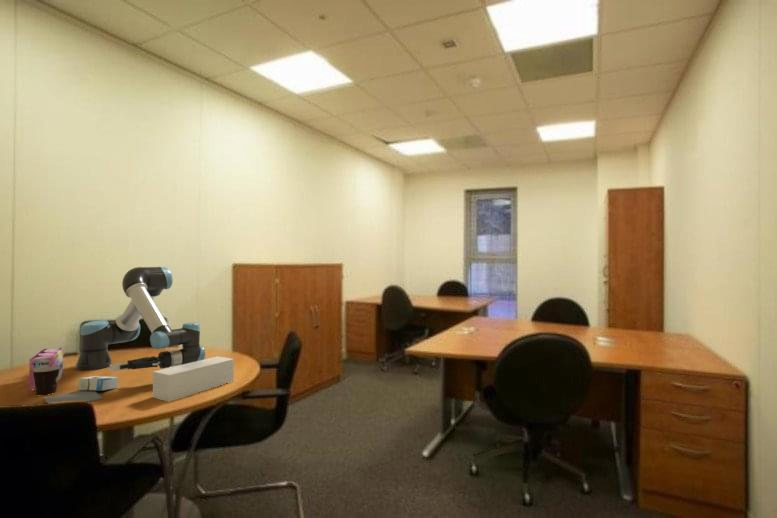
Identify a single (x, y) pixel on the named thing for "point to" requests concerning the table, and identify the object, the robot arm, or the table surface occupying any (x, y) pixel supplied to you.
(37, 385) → the coffee mug
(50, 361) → the gum box
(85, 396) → the felt pad
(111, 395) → the table surface
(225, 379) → the long white block
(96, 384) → the ink box
